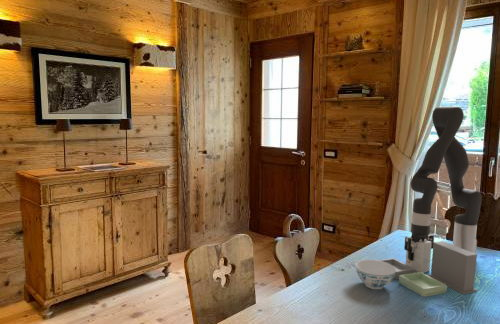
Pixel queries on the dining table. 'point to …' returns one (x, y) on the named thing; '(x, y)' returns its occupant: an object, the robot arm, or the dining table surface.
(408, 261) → the small box
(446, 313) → the dining table surface
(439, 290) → the sage tray
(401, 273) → the grey tray
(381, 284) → the chinaware
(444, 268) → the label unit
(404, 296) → the dining table surface
